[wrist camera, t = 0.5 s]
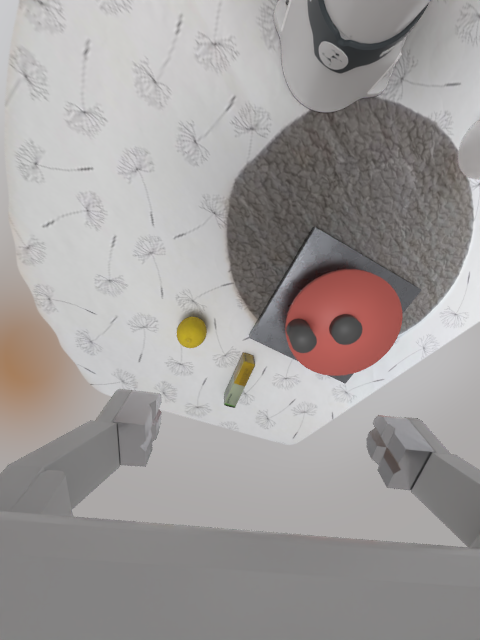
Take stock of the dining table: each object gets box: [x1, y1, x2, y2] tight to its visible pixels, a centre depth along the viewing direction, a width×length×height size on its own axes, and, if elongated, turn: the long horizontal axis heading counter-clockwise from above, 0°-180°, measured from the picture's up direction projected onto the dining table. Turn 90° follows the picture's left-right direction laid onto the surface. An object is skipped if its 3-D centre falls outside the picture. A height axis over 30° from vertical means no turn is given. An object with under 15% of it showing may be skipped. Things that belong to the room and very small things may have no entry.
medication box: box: [224, 353, 255, 408], centre depth 57 cm, size 12×3×4 cm, turn 159°
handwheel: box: [285, 269, 402, 376], centre depth 44 cm, size 20×20×6 cm
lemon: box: [177, 317, 207, 348], centre depth 50 cm, size 6×6×8 cm
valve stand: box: [249, 227, 421, 383], centre depth 50 cm, size 24×24×6 cm
